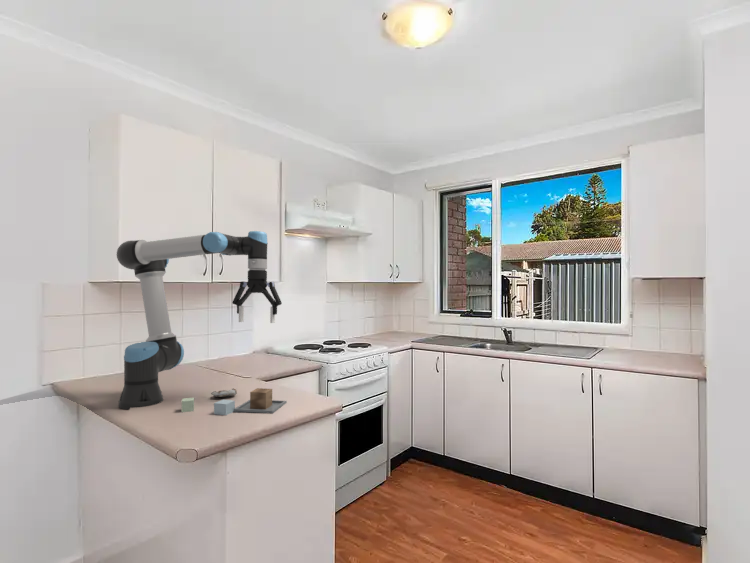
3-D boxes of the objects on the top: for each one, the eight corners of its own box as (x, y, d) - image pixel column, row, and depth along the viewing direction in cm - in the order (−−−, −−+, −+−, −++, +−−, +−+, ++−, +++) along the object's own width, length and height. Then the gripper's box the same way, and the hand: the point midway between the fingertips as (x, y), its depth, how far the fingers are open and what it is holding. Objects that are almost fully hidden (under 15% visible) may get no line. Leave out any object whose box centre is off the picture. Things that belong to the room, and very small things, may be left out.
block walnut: (250, 408, 159) (250, 392, 159) (257, 404, 165) (257, 388, 165) (265, 409, 158) (265, 392, 158) (272, 404, 164) (272, 388, 164)
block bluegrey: (214, 414, 154) (214, 403, 154) (223, 410, 159) (223, 399, 159) (226, 415, 153) (226, 404, 153) (234, 411, 158) (234, 400, 158)
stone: (212, 399, 172) (212, 392, 172) (210, 396, 178) (210, 390, 179) (237, 396, 176) (237, 389, 176) (235, 393, 182) (235, 387, 183)
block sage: (181, 412, 156) (181, 401, 156) (182, 409, 160) (182, 398, 160) (193, 411, 158) (193, 400, 158) (194, 408, 162) (194, 397, 162)
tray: (233, 412, 156) (233, 408, 156) (250, 402, 170) (250, 399, 170) (272, 414, 154) (272, 410, 154) (286, 404, 167) (286, 400, 167)
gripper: (224, 269, 176) (223, 322, 176) (282, 269, 171) (282, 323, 171) (233, 269, 183) (232, 320, 183) (290, 270, 179) (289, 322, 179)
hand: (256, 322), depth 177 cm, fingers open, 13 cm apart
